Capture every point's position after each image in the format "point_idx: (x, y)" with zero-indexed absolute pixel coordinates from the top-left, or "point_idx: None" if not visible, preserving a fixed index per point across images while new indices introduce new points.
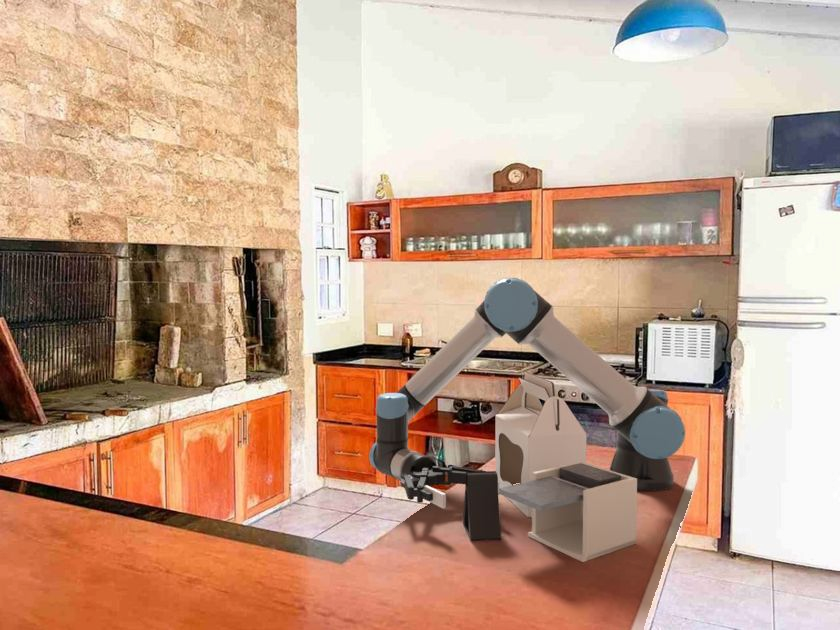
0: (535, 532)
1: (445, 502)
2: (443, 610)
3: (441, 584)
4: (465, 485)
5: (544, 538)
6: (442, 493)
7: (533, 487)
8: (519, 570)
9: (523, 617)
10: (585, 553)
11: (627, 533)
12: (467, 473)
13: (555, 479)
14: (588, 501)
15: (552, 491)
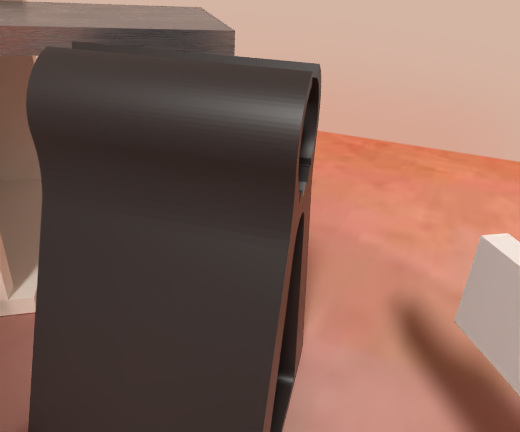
0: (13, 283)
1: (467, 289)
2: (458, 165)
3: (459, 206)
4: (292, 222)
5: (37, 249)
6: (511, 248)
7: (88, 18)
8: None
9: (326, 136)
10: None
11: None
12: (300, 83)
13: None
14: None
15: (67, 9)
